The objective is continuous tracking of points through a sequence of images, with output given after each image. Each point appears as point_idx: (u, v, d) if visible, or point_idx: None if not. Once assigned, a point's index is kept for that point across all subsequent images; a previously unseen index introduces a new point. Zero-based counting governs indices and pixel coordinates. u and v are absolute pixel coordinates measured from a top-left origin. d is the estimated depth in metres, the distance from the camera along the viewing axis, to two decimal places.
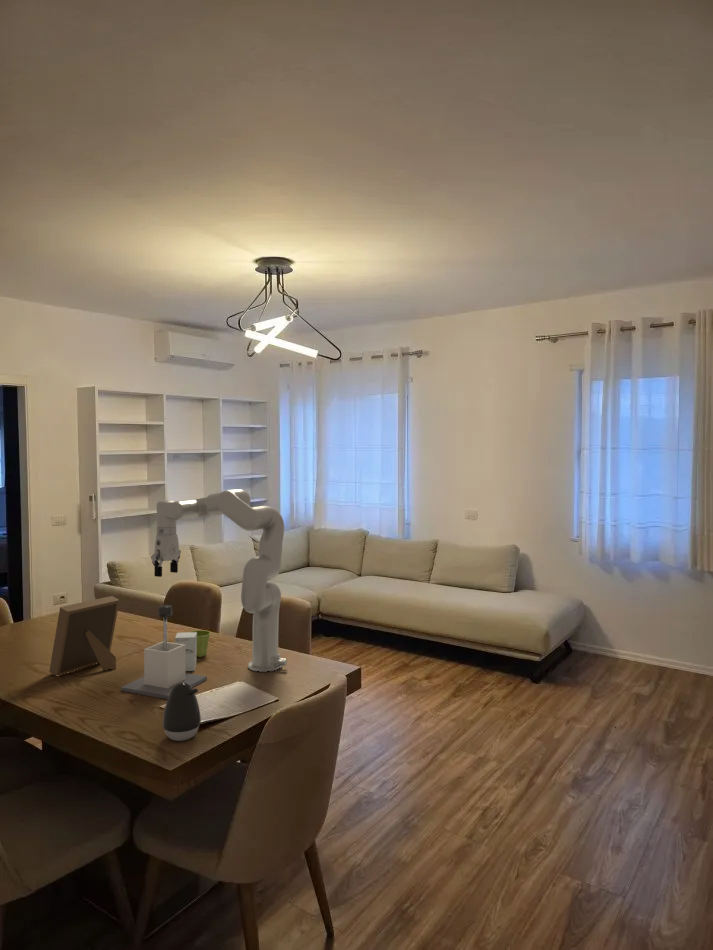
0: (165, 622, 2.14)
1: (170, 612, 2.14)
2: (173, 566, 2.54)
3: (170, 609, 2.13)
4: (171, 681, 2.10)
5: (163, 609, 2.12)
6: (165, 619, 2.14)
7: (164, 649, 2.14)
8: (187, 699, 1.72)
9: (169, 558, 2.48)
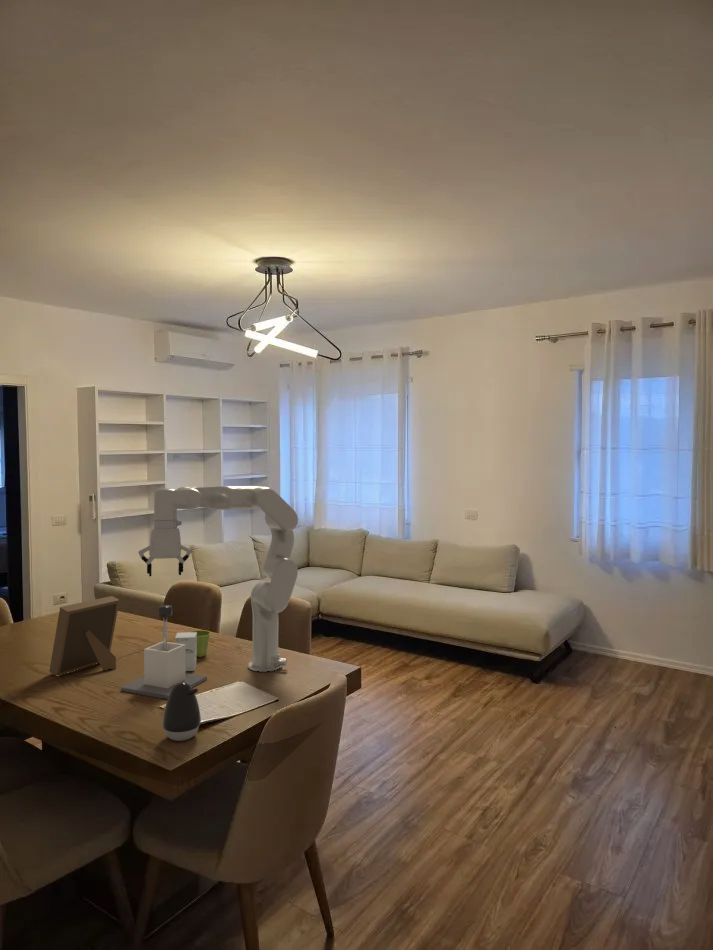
0: (165, 622, 2.14)
1: (170, 612, 2.14)
2: None
3: (170, 609, 2.13)
4: (171, 681, 2.10)
5: (163, 609, 2.12)
6: (165, 619, 2.14)
7: (164, 649, 2.14)
8: (187, 699, 1.72)
9: None
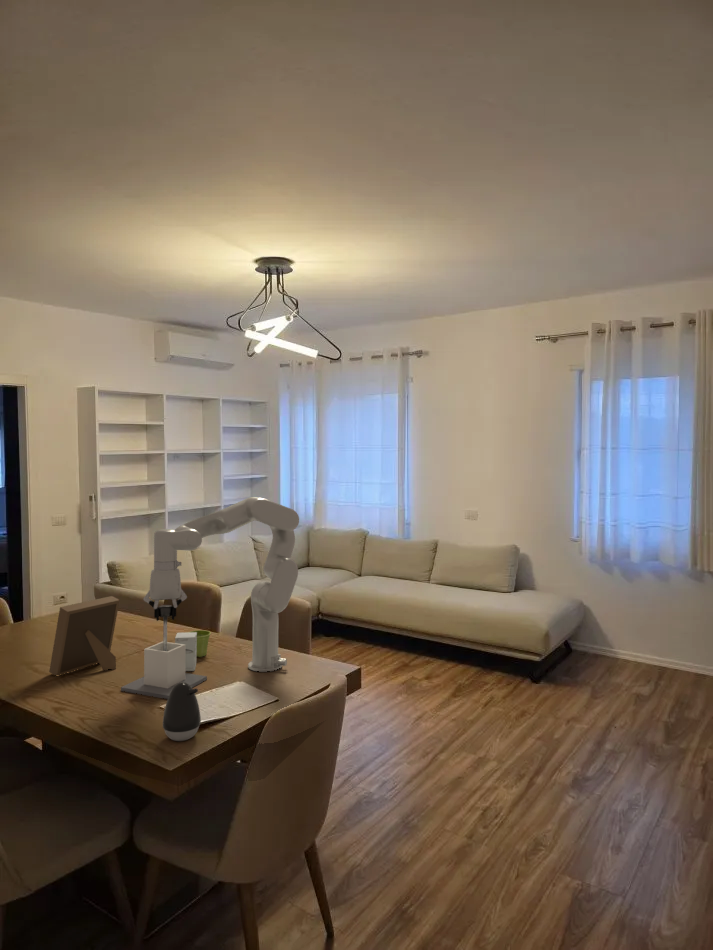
0: (165, 622, 2.14)
1: (170, 612, 2.14)
2: None
3: (170, 609, 2.13)
4: (171, 681, 2.10)
5: (163, 609, 2.12)
6: (165, 619, 2.14)
7: (164, 649, 2.14)
8: (187, 699, 1.72)
9: None
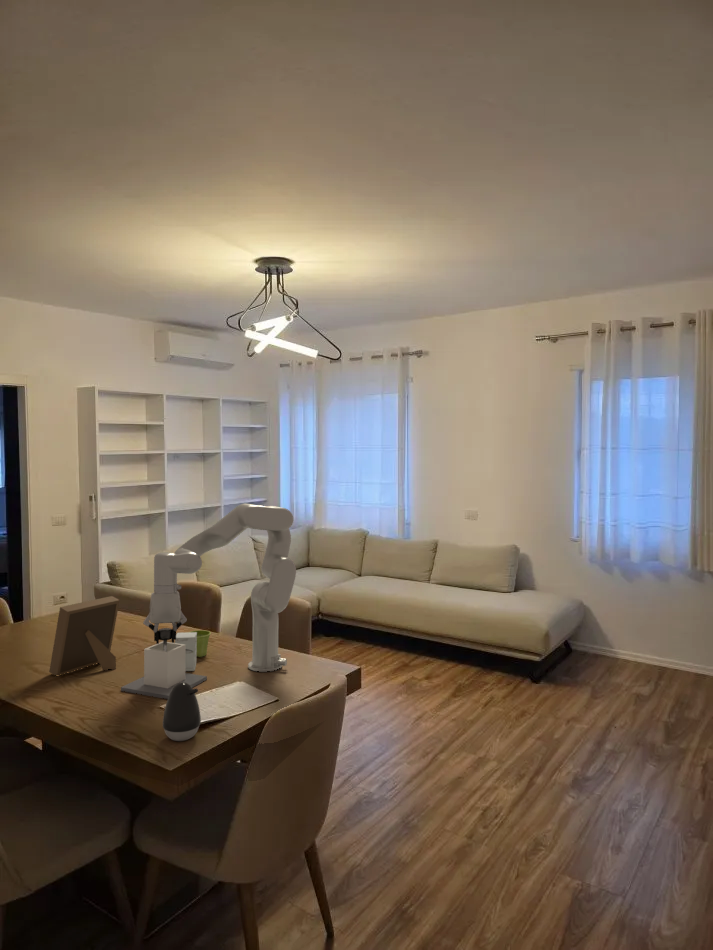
0: (165, 645, 2.14)
1: (170, 635, 2.14)
2: None
3: (170, 632, 2.14)
4: (171, 681, 2.10)
5: (163, 632, 2.12)
6: (165, 642, 2.14)
7: None
8: (187, 699, 1.72)
9: None
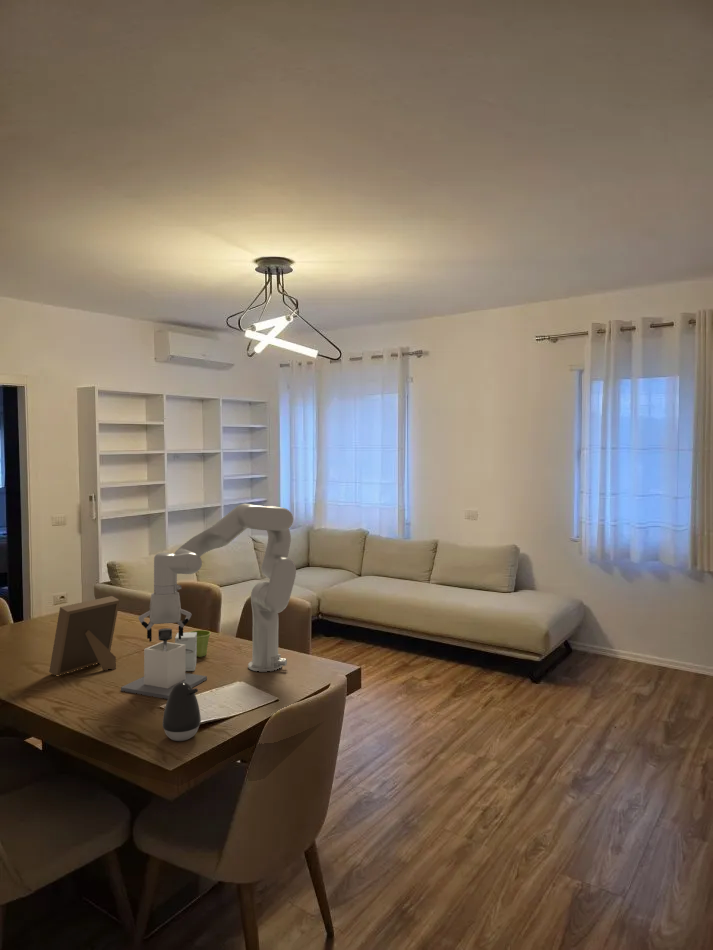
0: (165, 646, 2.14)
1: (170, 635, 2.14)
2: None
3: (170, 633, 2.14)
4: (171, 681, 2.10)
5: (163, 633, 2.12)
6: (165, 643, 2.14)
7: None
8: (187, 699, 1.72)
9: None
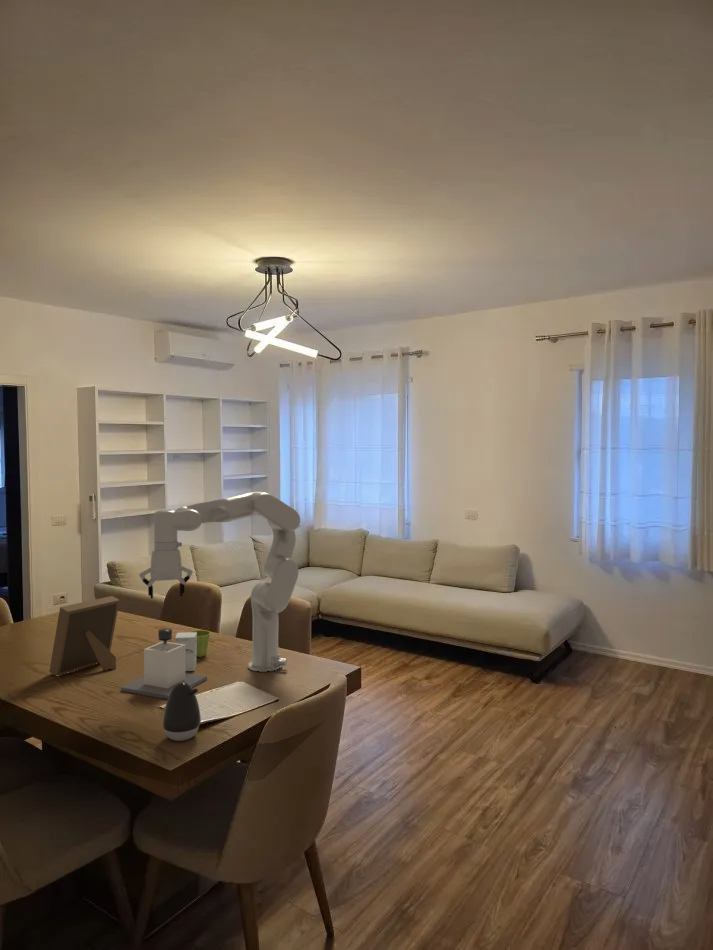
0: (165, 646, 2.14)
1: (170, 635, 2.14)
2: None
3: (170, 633, 2.14)
4: (171, 681, 2.10)
5: (163, 633, 2.12)
6: (165, 643, 2.14)
7: None
8: (187, 699, 1.72)
9: None
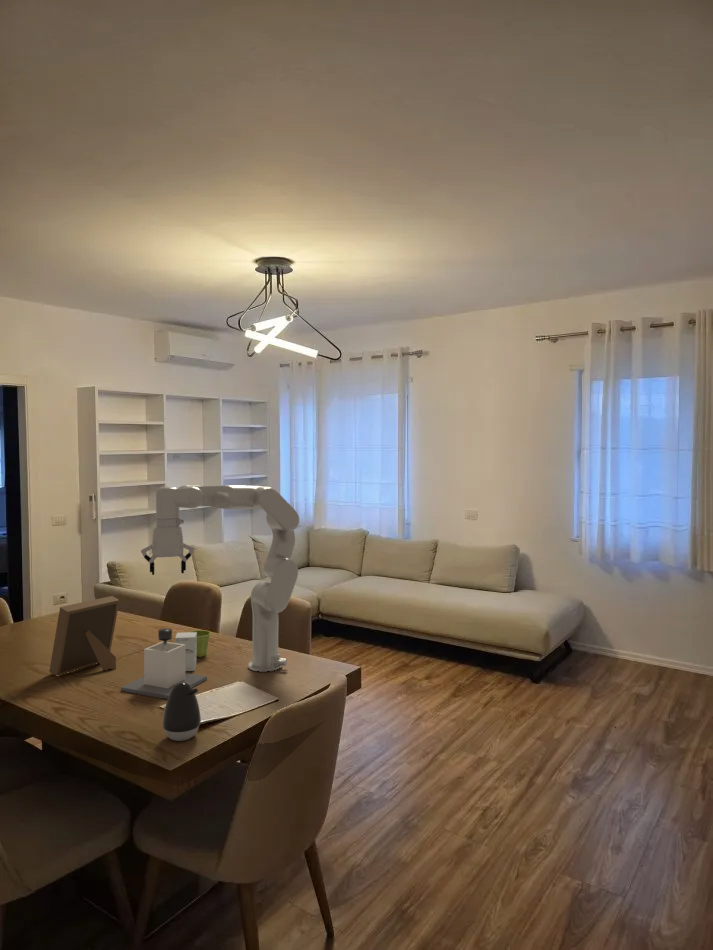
0: (165, 646, 2.14)
1: (170, 635, 2.14)
2: None
3: (170, 633, 2.14)
4: (171, 681, 2.10)
5: (163, 633, 2.12)
6: (165, 643, 2.14)
7: None
8: (187, 699, 1.72)
9: None
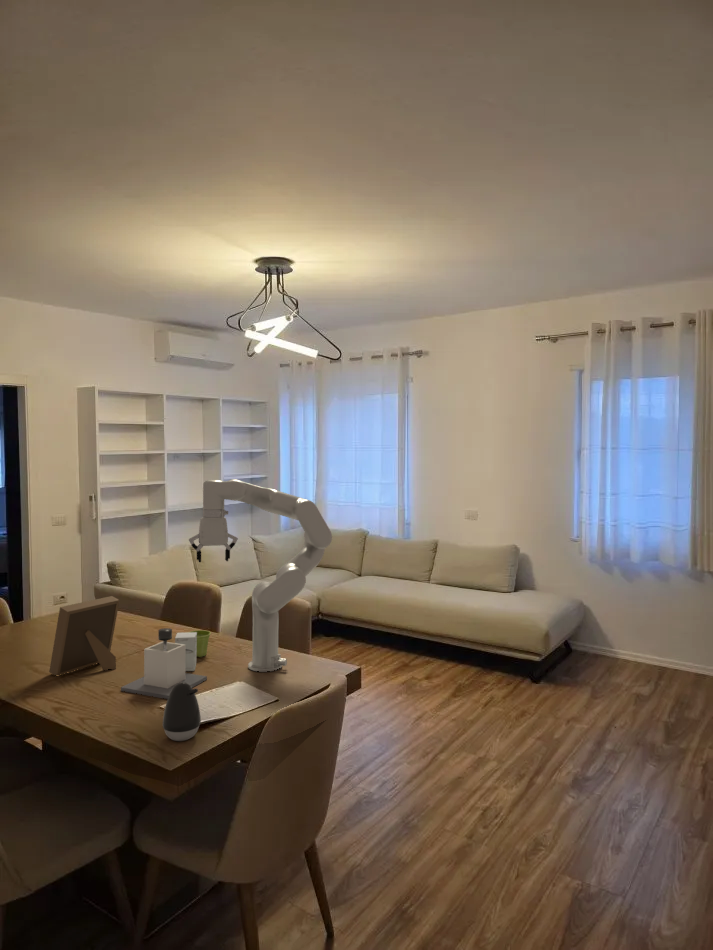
0: (165, 646, 2.14)
1: (170, 635, 2.14)
2: None
3: (170, 633, 2.14)
4: (171, 681, 2.10)
5: (163, 633, 2.12)
6: (165, 643, 2.14)
7: None
8: (187, 699, 1.72)
9: None
